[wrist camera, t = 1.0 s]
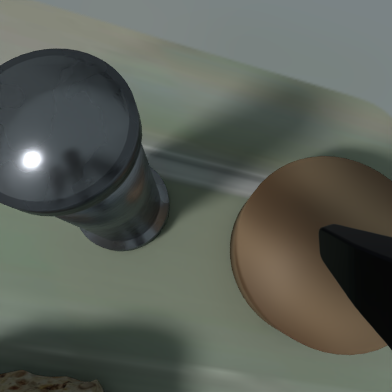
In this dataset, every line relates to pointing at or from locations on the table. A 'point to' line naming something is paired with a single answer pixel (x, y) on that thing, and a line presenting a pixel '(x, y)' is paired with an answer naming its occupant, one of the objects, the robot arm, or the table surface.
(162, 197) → the grey metal cylinder
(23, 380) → the rock
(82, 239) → the table surface
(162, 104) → the table surface
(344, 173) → the stand
